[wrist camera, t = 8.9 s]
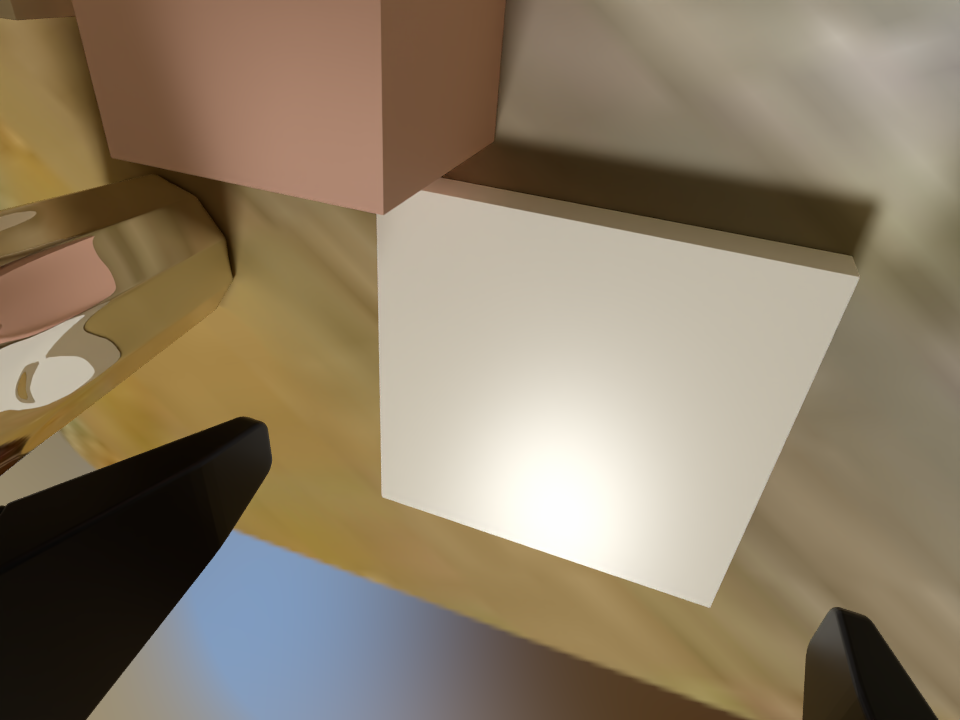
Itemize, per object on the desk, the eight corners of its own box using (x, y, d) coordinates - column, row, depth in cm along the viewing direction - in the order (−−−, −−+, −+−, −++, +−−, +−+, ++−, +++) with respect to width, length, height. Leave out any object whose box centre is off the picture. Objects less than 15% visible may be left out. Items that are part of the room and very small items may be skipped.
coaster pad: (852, 255, 9) (859, 276, 9) (711, 577, 13) (709, 607, 13) (397, 169, 11) (376, 181, 11) (397, 474, 15) (381, 496, 15)
